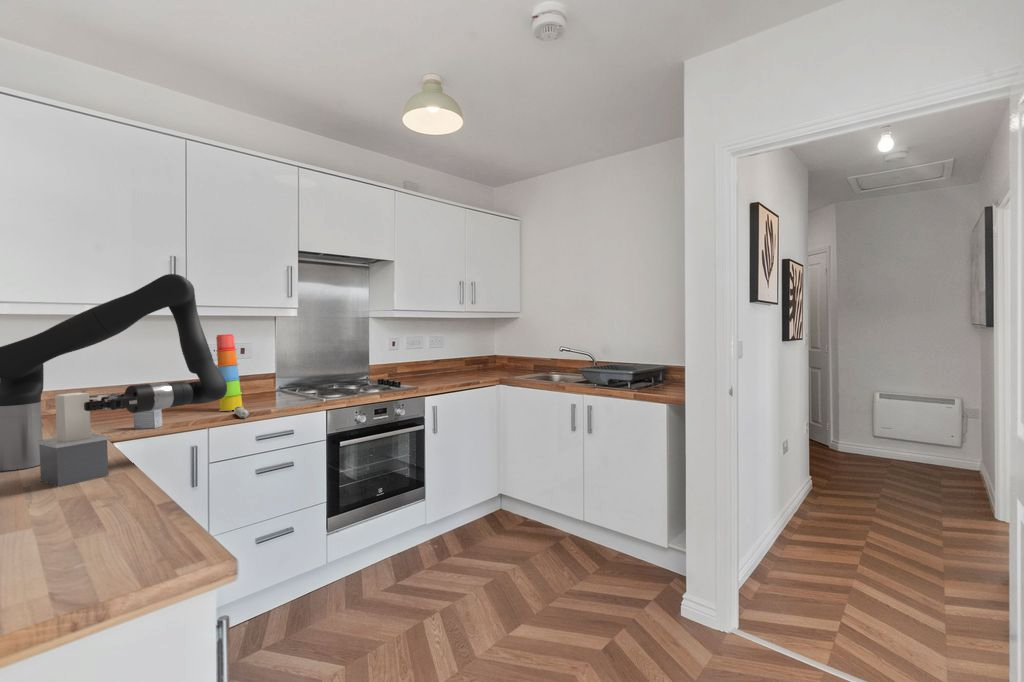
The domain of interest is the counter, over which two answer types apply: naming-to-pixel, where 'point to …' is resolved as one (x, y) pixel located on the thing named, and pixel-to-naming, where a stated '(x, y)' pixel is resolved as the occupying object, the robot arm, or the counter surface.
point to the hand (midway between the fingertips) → (77, 405)
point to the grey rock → (241, 412)
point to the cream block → (72, 416)
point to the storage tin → (73, 459)
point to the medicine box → (148, 419)
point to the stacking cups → (229, 372)
